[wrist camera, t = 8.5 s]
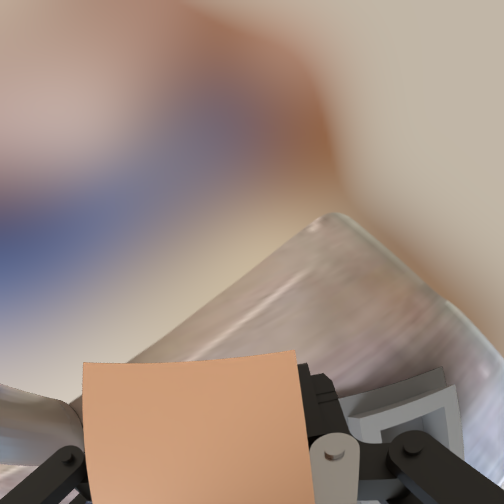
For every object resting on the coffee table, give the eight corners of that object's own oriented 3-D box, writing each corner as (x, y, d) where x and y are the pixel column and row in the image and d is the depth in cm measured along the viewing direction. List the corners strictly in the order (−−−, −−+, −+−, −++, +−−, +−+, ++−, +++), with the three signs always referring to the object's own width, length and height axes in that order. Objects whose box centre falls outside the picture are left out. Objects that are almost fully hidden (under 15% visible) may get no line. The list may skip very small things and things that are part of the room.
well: (452, 472, 16) (481, 479, 11) (336, 514, 16) (346, 537, 11) (438, 367, 23) (466, 355, 18) (322, 402, 23) (330, 400, 18)
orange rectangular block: (299, 455, 12) (320, 559, 2) (227, 461, 12) (101, 540, 2) (290, 391, 14) (294, 350, 4) (221, 398, 15) (83, 362, 4)
